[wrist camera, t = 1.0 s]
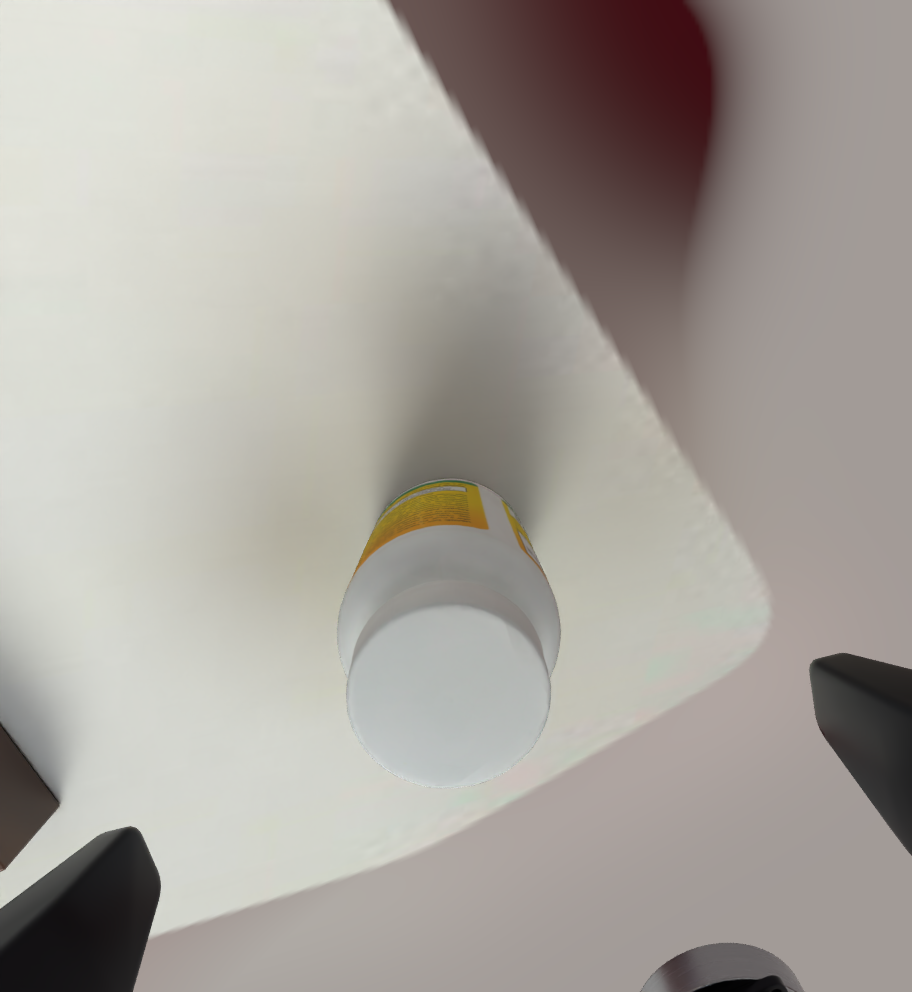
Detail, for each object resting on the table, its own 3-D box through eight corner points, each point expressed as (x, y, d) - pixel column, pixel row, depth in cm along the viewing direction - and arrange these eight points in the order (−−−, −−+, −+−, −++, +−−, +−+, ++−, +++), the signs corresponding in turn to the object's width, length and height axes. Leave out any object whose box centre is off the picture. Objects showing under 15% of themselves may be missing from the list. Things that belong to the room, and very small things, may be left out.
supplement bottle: (554, 524, 21) (645, 656, 11) (473, 647, 22) (497, 863, 12) (419, 445, 20) (399, 516, 11) (341, 575, 21) (261, 746, 12)
